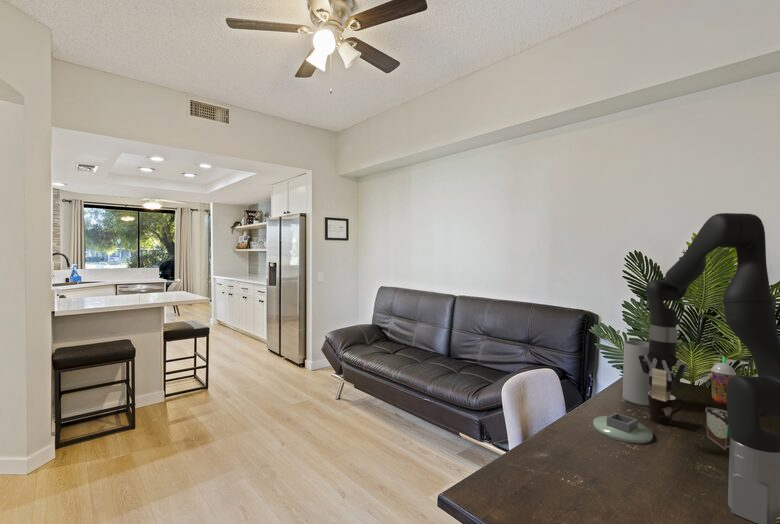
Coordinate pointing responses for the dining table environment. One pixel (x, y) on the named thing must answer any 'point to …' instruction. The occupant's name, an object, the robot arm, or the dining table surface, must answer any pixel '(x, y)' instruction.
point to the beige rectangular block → (660, 385)
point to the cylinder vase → (635, 373)
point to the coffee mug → (662, 409)
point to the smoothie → (721, 381)
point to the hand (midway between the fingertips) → (661, 388)
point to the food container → (718, 427)
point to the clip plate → (623, 428)
